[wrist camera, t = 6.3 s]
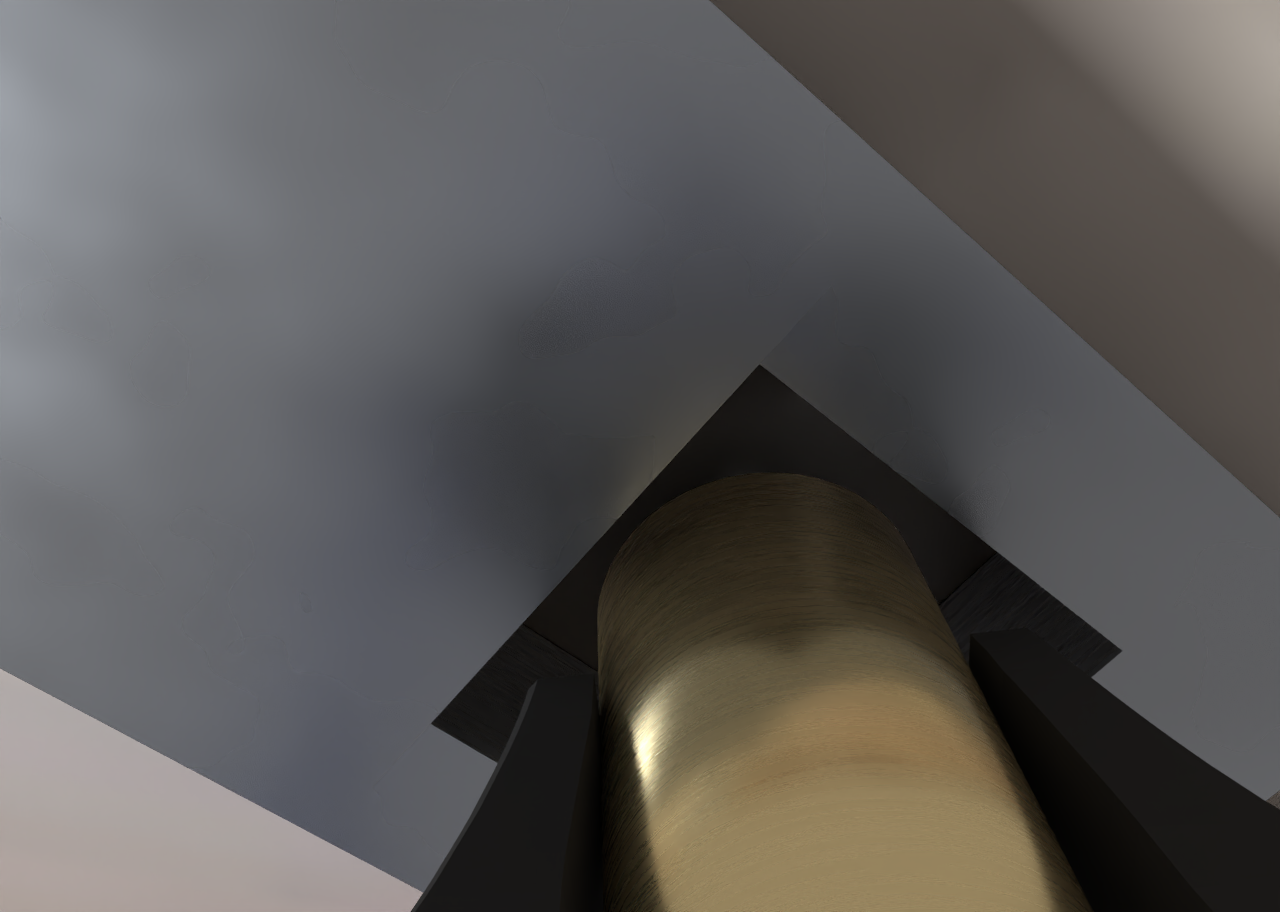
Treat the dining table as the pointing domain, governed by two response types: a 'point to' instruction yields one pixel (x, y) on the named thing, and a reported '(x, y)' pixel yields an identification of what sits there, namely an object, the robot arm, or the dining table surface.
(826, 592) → the cylinder
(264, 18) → the junction block
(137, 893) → the dining table surface
